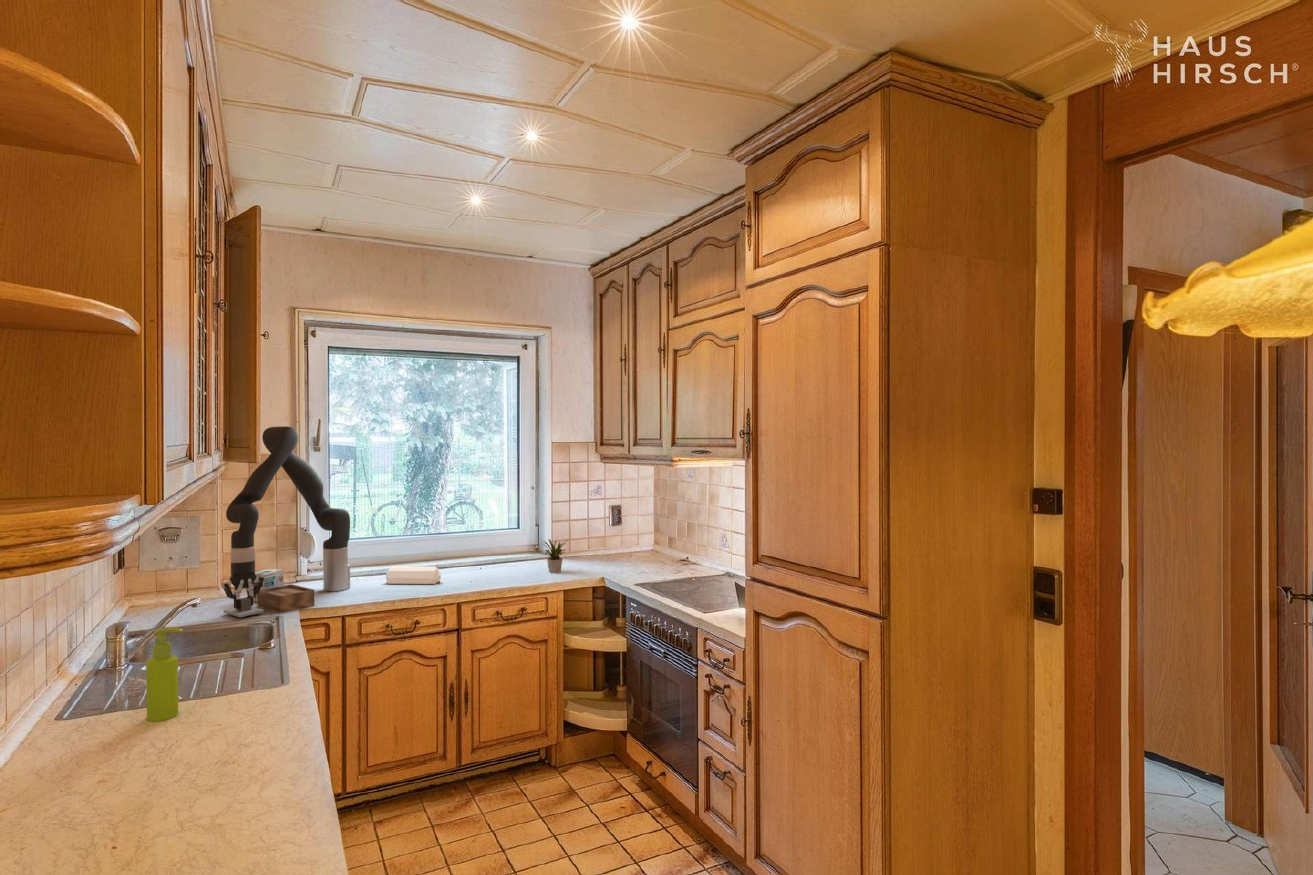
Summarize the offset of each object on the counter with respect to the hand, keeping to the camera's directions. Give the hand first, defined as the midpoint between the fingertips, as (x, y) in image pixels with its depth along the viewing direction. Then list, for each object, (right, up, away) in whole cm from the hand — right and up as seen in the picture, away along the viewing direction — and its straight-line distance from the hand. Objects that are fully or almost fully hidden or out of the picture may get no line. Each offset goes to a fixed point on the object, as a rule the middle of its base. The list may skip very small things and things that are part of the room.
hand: (243, 607), depth 250 cm
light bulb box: (-5, -2, +24) cm, 25 cm away
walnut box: (+9, -2, +12) cm, 15 cm away
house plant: (+99, -1, +72) cm, 122 cm away
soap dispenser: (+34, -3, -89) cm, 96 cm away
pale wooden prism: (+42, -2, +52) cm, 67 cm away
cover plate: (0, -2, 0) cm, 2 cm away
